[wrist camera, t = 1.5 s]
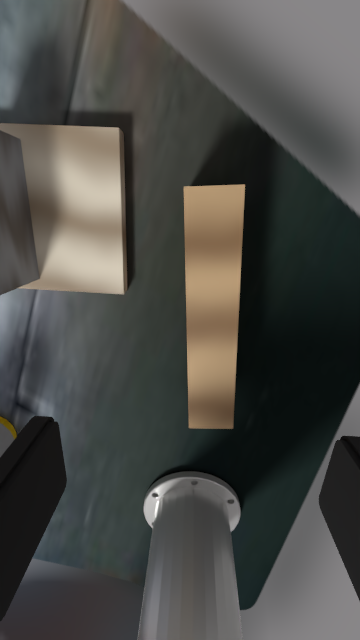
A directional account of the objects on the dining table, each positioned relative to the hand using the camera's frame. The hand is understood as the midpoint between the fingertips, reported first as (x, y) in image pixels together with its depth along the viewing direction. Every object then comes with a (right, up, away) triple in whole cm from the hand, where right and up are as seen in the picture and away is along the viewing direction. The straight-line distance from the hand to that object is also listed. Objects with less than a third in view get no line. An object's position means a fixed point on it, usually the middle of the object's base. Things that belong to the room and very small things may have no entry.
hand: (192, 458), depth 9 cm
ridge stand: (-14, +14, +16) cm, 25 cm away
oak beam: (+2, +6, +18) cm, 19 cm away
